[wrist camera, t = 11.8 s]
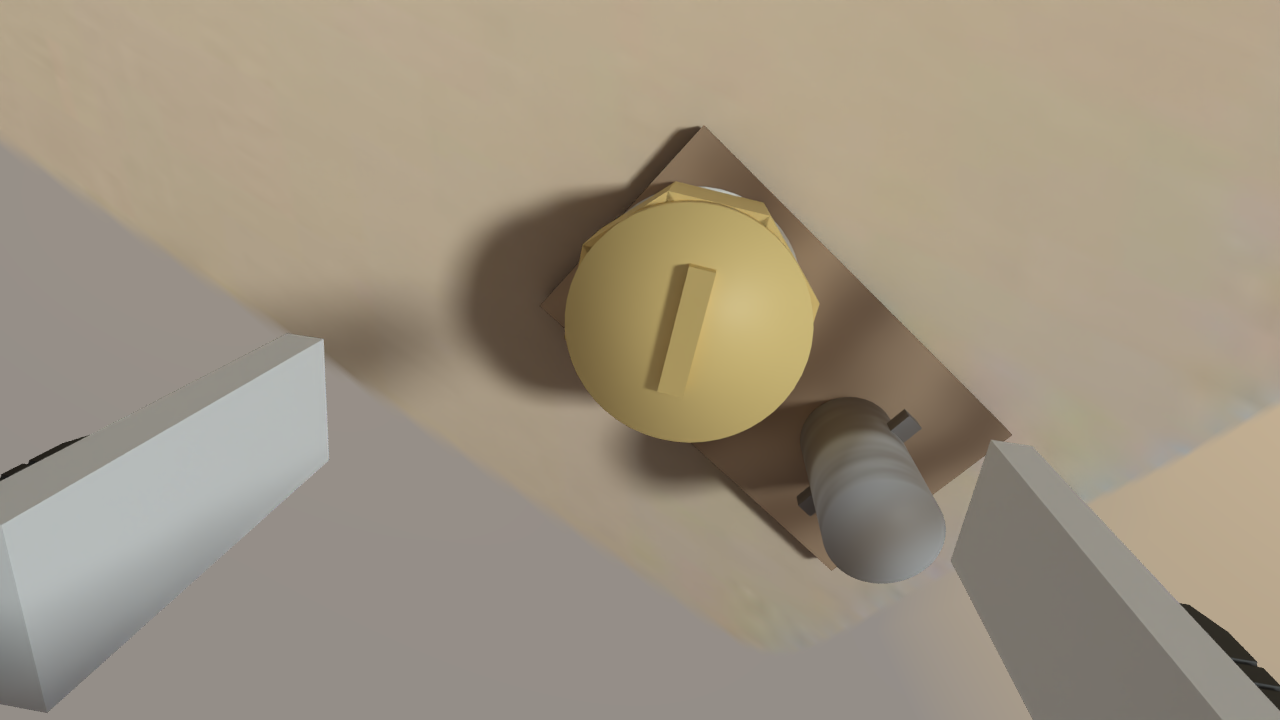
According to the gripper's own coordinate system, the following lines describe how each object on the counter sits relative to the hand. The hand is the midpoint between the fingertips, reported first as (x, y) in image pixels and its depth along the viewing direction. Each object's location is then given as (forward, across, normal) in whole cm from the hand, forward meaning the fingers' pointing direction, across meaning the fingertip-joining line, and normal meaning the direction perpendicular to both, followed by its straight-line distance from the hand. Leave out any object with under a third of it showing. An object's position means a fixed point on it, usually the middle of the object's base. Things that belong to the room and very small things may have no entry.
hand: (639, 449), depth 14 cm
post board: (+20, +5, -5) cm, 21 cm away
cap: (+18, +1, -2) cm, 18 cm away
